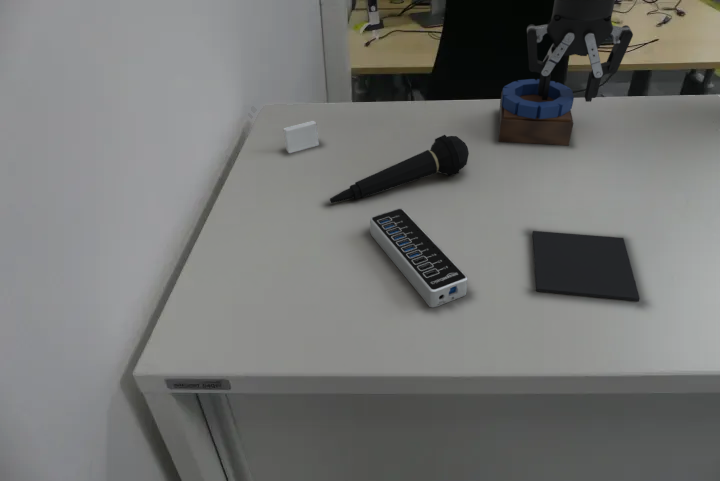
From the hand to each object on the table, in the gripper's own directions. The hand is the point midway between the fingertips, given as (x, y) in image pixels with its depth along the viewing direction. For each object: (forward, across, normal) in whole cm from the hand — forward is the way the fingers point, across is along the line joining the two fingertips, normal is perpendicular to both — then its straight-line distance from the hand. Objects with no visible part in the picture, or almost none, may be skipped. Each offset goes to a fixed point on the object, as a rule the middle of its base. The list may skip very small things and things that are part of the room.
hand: (565, 98), depth 83 cm
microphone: (+5, +22, +18) cm, 29 cm away
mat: (+5, 0, +32) cm, 32 cm away
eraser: (+5, +38, +10) cm, 40 cm away
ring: (+1, +4, 0) cm, 4 cm away
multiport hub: (+5, +18, +34) cm, 39 cm away
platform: (+5, +4, 0) cm, 6 cm away
